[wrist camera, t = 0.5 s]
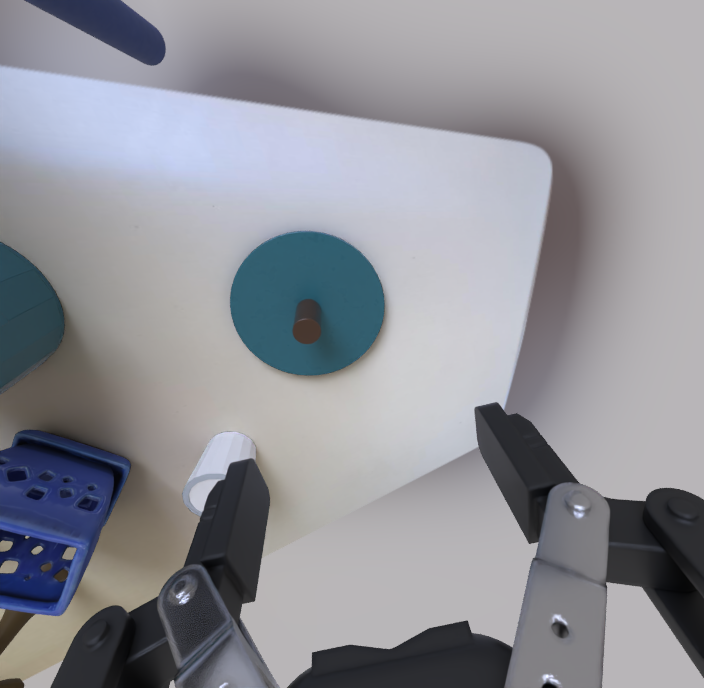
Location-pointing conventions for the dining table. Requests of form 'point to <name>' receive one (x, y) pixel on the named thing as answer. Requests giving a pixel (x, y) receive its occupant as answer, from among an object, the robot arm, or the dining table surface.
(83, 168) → the dining table surface
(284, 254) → the lid
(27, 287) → the tin
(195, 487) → the shot glass
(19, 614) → the kendama
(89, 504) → the flower pot
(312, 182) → the dining table surface
